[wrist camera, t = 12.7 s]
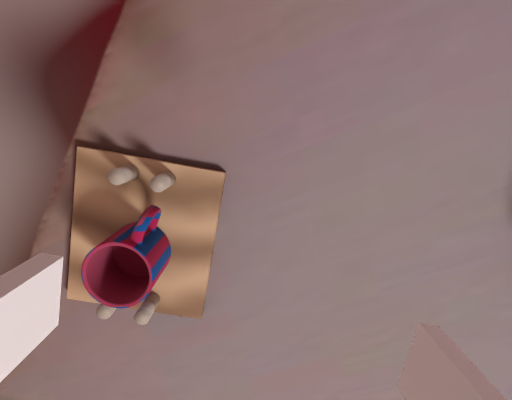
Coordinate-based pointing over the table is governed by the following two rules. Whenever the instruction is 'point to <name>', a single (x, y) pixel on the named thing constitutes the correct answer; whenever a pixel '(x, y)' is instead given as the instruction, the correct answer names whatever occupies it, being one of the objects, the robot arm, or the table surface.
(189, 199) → the wooden peg board
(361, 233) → the table surface
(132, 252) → the cup
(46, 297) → the robot arm
